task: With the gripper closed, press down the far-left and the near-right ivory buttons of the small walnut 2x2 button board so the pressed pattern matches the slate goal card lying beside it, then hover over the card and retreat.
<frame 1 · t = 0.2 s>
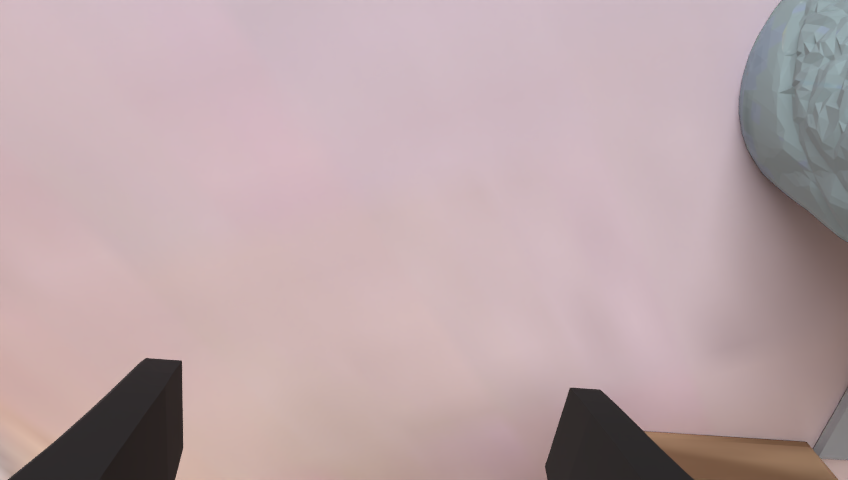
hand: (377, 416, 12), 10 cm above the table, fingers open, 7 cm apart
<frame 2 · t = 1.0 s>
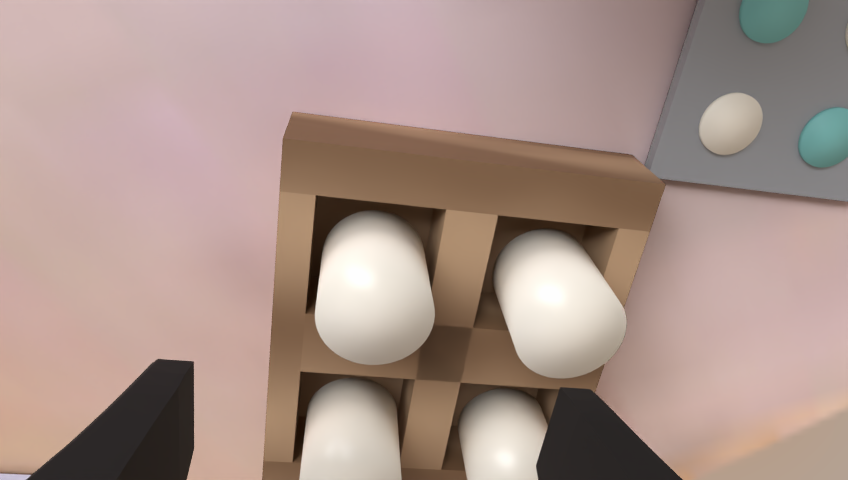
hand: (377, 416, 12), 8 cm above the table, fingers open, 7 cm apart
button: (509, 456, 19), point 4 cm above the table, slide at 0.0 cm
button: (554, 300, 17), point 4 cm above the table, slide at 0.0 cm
board: (435, 309, 21), on the table
goal card: (793, 72, 18), on the table
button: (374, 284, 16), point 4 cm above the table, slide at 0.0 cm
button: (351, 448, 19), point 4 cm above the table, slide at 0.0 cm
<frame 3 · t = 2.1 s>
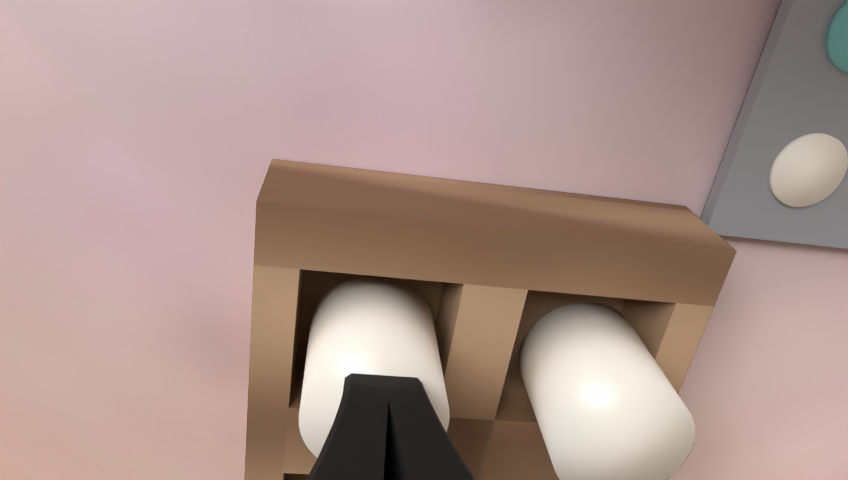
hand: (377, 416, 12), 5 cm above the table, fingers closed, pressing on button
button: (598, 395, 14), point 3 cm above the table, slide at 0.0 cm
board: (446, 386, 18), on the table
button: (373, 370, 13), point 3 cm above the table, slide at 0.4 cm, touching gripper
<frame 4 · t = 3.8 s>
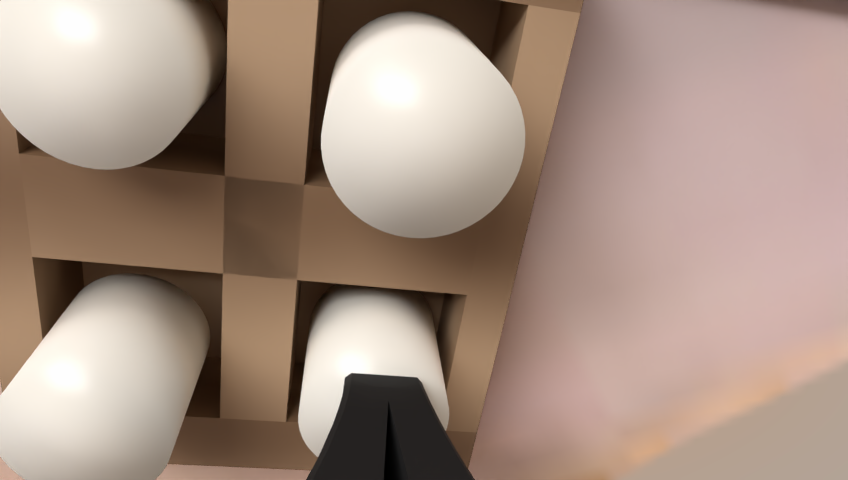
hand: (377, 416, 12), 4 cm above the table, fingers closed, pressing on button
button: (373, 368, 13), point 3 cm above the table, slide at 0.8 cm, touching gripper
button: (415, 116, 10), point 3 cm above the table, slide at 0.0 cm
board: (277, 183, 14), on the table
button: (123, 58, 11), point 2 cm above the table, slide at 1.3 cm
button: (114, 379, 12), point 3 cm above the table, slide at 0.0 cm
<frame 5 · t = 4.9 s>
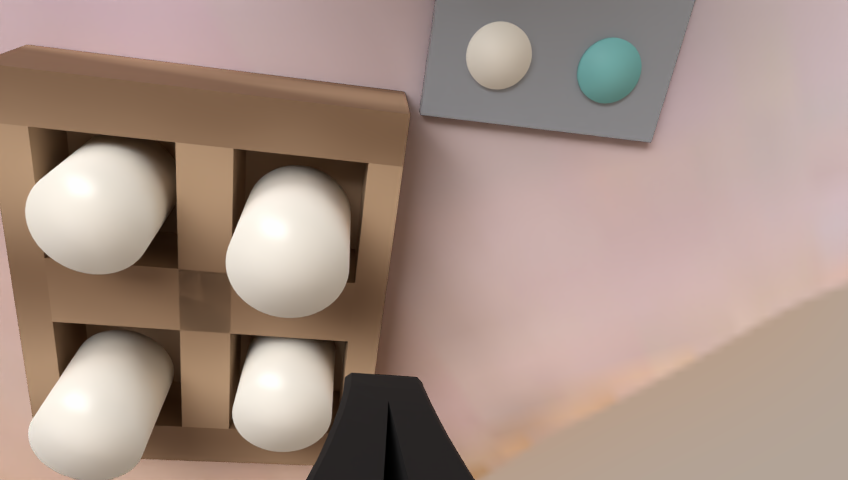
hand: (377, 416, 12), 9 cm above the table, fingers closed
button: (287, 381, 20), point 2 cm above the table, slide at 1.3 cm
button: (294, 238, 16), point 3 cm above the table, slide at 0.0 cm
board: (221, 261, 20), on the table
goal card: (563, 1, 17), on the table
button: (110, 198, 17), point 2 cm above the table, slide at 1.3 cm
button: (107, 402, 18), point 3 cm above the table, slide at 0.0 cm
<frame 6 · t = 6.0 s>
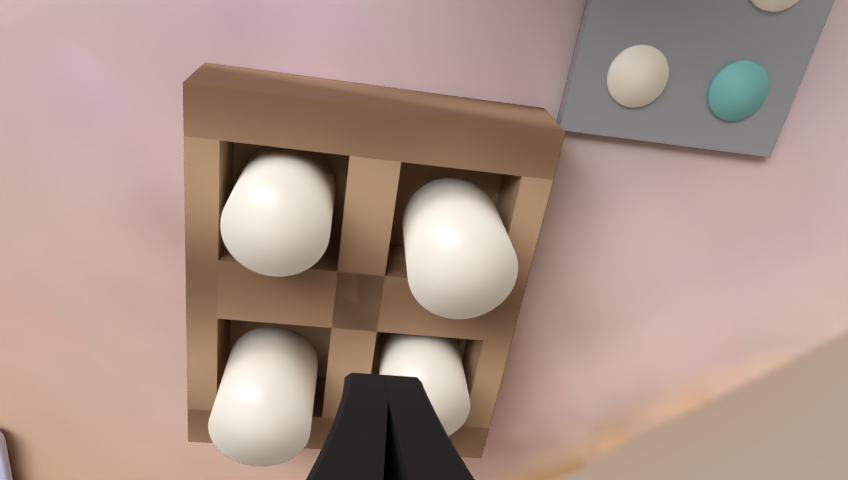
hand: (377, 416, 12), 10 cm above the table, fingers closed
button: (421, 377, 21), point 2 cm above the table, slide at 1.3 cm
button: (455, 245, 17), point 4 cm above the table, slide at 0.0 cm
board: (358, 263, 21), on the table
goal card: (699, 25, 19), on the table
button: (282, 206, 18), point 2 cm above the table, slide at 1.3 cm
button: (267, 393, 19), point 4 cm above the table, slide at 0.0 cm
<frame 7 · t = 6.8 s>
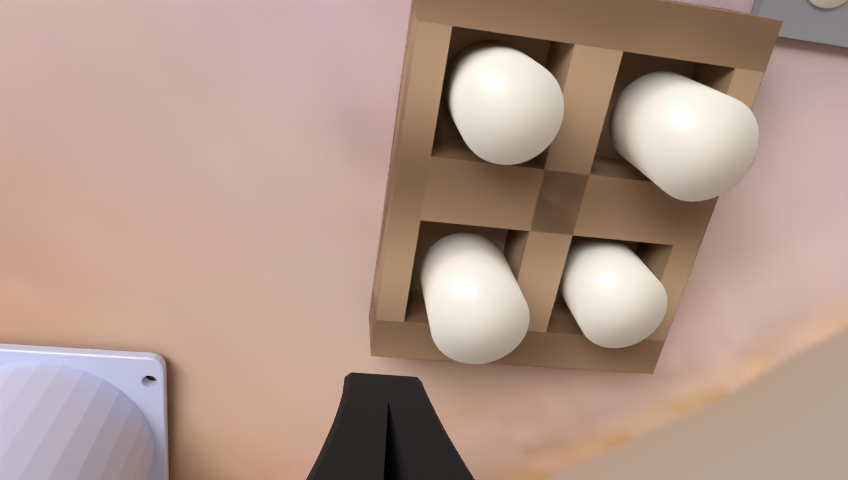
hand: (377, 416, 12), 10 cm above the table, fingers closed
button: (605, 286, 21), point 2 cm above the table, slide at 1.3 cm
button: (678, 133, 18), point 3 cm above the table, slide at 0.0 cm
board: (538, 176, 21), on the table
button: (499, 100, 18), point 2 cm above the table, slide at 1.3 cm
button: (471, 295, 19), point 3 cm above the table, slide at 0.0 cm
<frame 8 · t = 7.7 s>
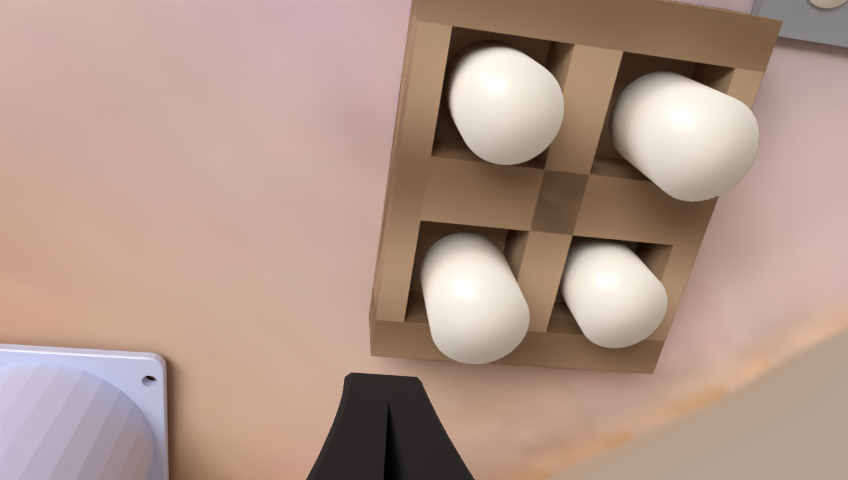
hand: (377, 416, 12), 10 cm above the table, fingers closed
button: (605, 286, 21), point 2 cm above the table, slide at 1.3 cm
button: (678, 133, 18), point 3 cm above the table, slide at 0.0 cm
board: (538, 176, 21), on the table
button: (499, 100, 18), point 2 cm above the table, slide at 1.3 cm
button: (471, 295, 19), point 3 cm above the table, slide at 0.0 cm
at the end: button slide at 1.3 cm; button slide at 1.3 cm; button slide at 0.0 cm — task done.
